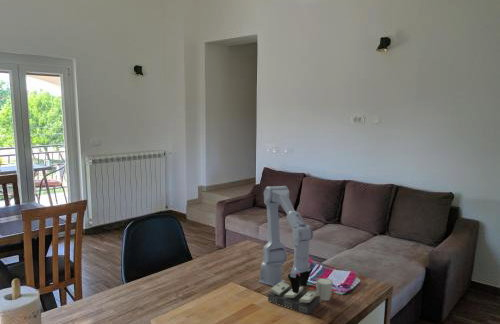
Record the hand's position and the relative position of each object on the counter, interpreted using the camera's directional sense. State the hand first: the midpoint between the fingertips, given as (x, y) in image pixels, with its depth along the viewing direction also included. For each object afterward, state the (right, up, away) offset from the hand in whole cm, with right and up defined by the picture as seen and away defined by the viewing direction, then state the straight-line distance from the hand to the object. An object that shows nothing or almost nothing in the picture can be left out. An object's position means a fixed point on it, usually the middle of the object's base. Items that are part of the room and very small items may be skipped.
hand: (299, 289), depth 147 cm
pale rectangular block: (-7, -2, +5) cm, 9 cm away
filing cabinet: (-2, -6, +2) cm, 7 cm away
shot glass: (+11, -6, +7) cm, 15 cm away
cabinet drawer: (+4, -3, -2) cm, 5 cm away
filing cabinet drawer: (-2, -2, +1) cm, 3 cm away
